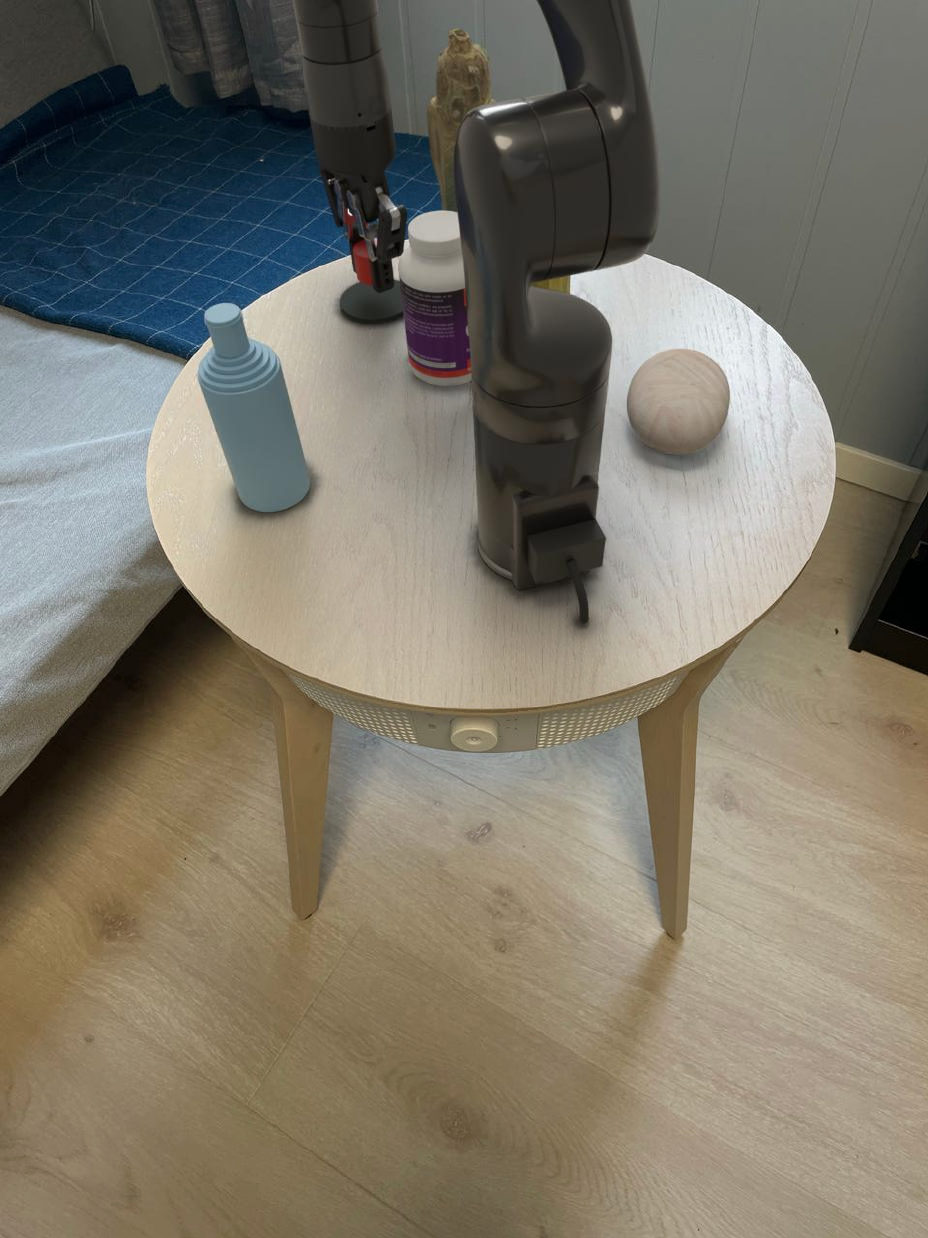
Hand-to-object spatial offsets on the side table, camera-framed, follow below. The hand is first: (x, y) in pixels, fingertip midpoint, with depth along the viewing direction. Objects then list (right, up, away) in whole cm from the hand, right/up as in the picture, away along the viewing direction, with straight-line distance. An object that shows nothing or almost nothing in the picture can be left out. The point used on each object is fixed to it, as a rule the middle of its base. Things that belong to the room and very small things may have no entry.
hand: (374, 279), depth 91 cm
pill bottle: (+8, -11, -5) cm, 15 cm away
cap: (0, 0, 0) cm, 0 cm away
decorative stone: (+29, -18, -12) cm, 36 cm away
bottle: (-7, -24, -15) cm, 30 cm away
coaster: (0, -2, +2) cm, 3 cm away
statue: (+10, 0, +3) cm, 11 cm away
